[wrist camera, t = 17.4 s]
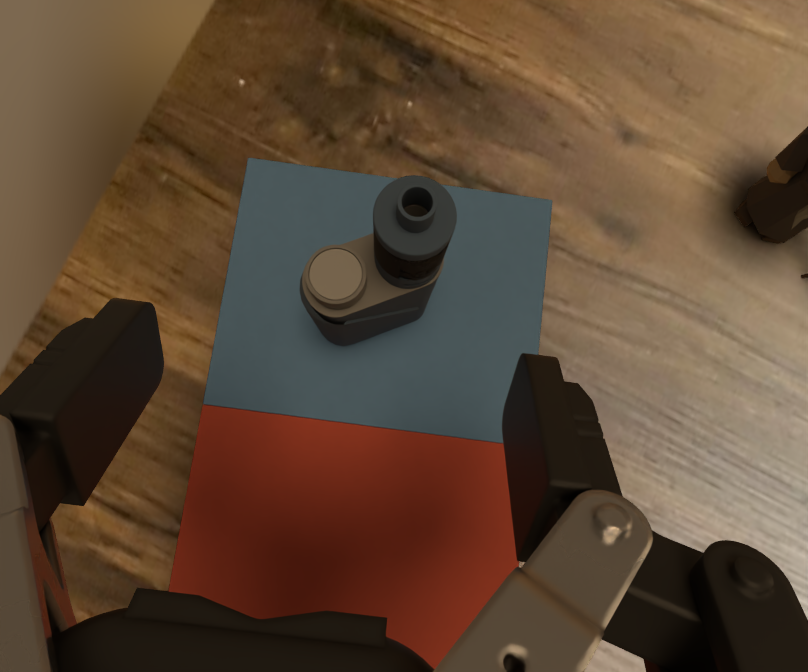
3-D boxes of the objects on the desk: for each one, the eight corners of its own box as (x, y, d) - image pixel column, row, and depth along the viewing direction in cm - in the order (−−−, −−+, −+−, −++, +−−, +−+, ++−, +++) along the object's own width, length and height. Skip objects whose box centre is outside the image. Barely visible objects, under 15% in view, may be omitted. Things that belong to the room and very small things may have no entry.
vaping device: (435, 316, 26) (480, 230, 15) (329, 355, 26) (287, 299, 14) (415, 266, 27) (444, 143, 15) (310, 304, 26) (254, 207, 14)
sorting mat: (154, 684, 24) (149, 690, 24) (250, 161, 28) (248, 157, 27) (500, 726, 24) (503, 732, 24) (549, 203, 28) (552, 199, 28)
